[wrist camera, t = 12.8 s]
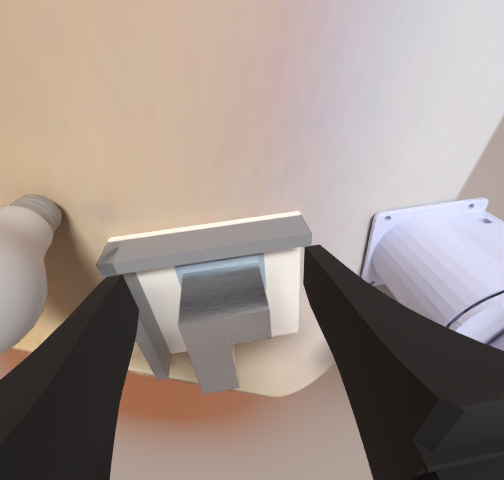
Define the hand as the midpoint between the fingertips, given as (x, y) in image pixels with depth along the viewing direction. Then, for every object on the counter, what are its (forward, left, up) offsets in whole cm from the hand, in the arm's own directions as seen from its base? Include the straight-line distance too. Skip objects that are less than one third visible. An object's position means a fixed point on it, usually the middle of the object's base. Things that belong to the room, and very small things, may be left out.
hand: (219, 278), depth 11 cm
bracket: (0, +11, -9) cm, 14 cm away
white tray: (+1, +10, -9) cm, 14 cm away
